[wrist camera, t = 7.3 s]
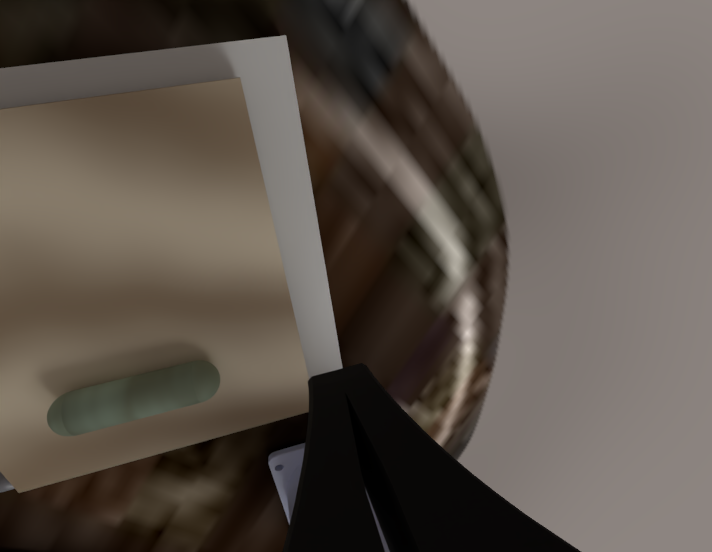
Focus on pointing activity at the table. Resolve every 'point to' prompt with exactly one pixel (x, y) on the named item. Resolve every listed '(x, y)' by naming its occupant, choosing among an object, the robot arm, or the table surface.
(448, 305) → the table surface
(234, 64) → the light grey square plate
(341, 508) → the robot arm
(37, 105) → the board
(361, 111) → the table surface
